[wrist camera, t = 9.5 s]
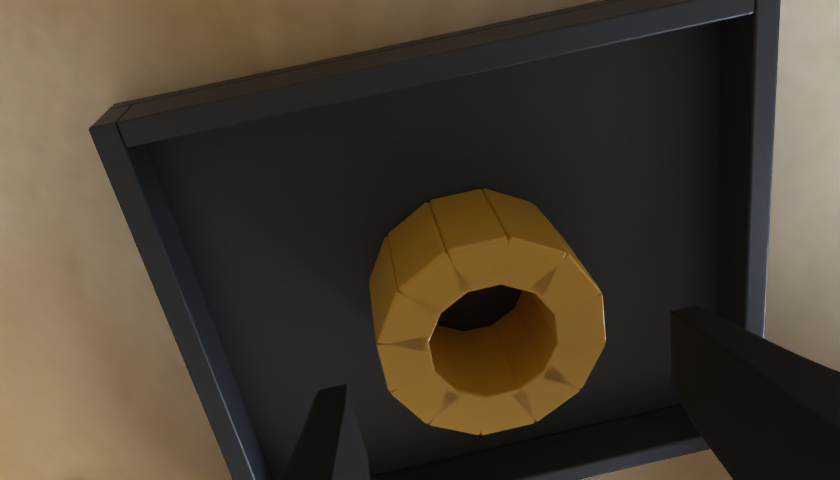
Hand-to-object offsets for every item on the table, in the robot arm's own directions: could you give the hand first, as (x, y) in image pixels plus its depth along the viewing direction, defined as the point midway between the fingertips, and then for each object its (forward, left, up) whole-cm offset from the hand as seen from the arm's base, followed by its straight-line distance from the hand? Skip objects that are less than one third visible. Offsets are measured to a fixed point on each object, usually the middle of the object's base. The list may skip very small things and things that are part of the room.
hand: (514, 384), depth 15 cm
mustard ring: (0, 0, -5) cm, 5 cm away
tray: (0, 0, -5) cm, 5 cm away
